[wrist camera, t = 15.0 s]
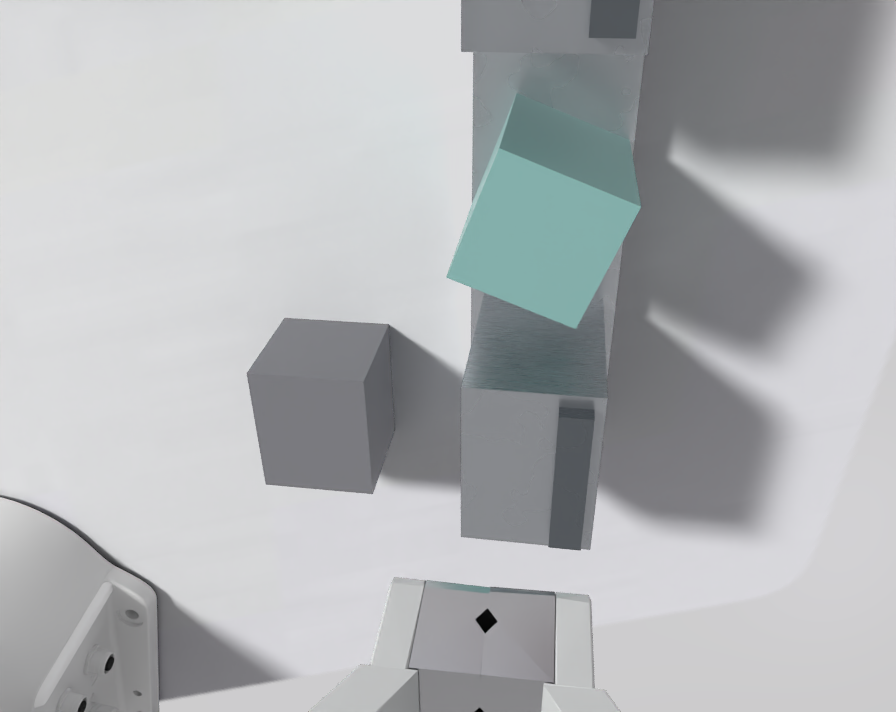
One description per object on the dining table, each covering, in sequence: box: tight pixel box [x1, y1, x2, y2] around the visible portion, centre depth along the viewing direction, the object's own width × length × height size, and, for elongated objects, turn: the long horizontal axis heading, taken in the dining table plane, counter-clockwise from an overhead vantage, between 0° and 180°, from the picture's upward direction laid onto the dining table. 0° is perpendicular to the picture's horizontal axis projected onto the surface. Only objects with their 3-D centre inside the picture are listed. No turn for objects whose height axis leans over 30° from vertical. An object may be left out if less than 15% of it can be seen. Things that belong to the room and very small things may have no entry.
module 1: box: [247, 318, 395, 494], centre depth 36 cm, size 6×5×5 cm
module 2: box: [447, 93, 641, 329], centre depth 27 cm, size 4×4×7 cm
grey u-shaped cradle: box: [461, 0, 654, 550], centre depth 27 cm, size 26×6×9 cm, turn 1°
